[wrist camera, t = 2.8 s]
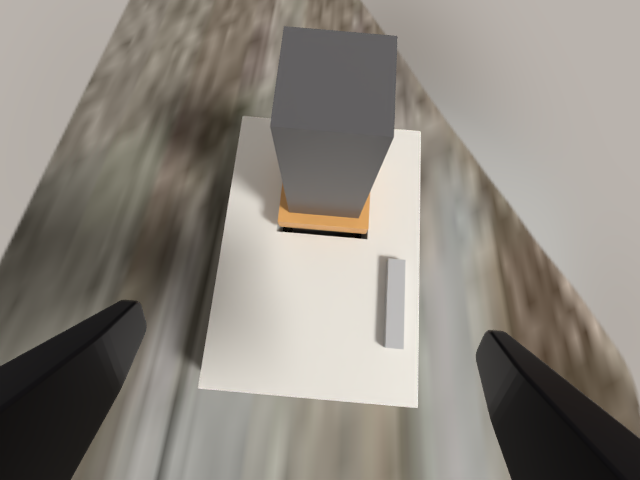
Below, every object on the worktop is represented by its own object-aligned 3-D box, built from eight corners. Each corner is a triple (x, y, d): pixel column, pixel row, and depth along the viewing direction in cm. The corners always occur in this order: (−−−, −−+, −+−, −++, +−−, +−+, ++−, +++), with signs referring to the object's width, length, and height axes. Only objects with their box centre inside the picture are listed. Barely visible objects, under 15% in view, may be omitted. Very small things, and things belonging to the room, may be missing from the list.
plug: (357, 246, 23) (412, 155, 10) (284, 240, 23) (248, 141, 10) (361, 179, 24) (414, 23, 12) (292, 172, 24) (269, 11, 12)
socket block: (403, 395, 21) (421, 410, 17) (214, 379, 21) (194, 390, 17) (408, 153, 25) (423, 126, 21) (251, 140, 25) (240, 110, 21)
